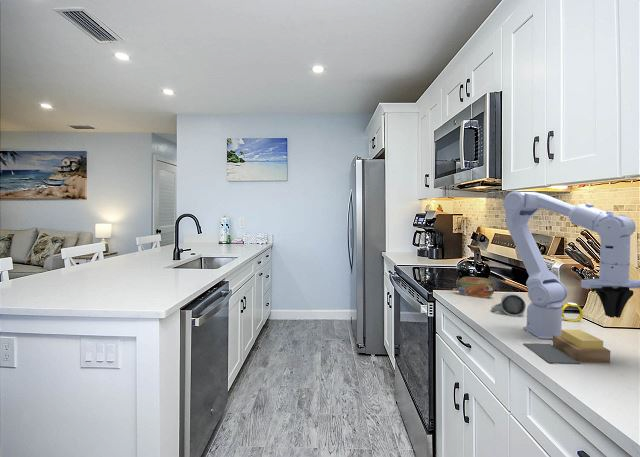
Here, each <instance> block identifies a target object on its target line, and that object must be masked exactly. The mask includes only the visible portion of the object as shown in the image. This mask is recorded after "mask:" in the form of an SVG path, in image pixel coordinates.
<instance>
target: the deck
mask: <svg viewBox="0 0 640 457" xmlns="http://www.w3.org/2000/svg"><path fill="white" fill-rule="evenodd" d="M552 345H553V346H554V347H556V348H558V349H559V350H561V351H562V352H564V353H565V354H567V355H569V356H570V357H572V358H573V359H575V360H576V361H578V362H580V363H591V364H592V363H593V364H594V363H597V364H598V363H600V364H603V363H606V364H611V353H612V352H611V350H610V349H608V348H606V347H604V346H603V349H581V348H580V347H578V346H576V345H574V344H573V343H571V342H569V341H567V340H566V339H564V338H562V337H561V336H560V335H553V339H552Z"/></svg>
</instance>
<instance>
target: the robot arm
mask: <svg viewBox="0 0 640 457" xmlns="http://www.w3.org/2000/svg"><path fill="white" fill-rule="evenodd" d="M502 206H503V208H504V211H505V226H506V227H507V229H508V232H509V234H510V236H511V237H510V238H512V241H513V243H514V245H515V247H516V250H517V252H518V254H519V256H520V258H521V261H522V263H523V265H524V267H525V269H526V273H527V274H528V278H527V280H526V282H525V284H526V287H527V295H528V298H529V300H530V301H531V302H530V303H529V304H528V305H527V308H526V326H523V329H525V330H526V331H527V332H528V333H531V334H533V335H534V336H535V337H537V338H538V339H540V340H541V339H542V340H553V335H560V336H561V330H562V326H563V325H562V320H563V317H562V307H563V302H564V301H565V300H566V299H567V298H568V290H567V287H566V286H565V285H564V284H563V283H562V282H561V281H560V280H559V277H558V276H557V275H556V274H554V273H553V272H552V271H550V270H549V267H548V265H547V263H546V261H545V259H544V258H543V255H542V253H541V250H540V249H539V247H538V243H537V242H536V240H535V238H534V236H533V234H532V232H531V229H530V228H529V226H528V222H529V220H530V219H531V217H533V216H534V215H535V213H536V212H537V211H538V210H539V209H545V210H548V211H551V212H553V213H557V214H559V215H562V216H566V217H568V219H569V221H570V222H571V223H572V224H574V225H576V226H579V227H581V228H584V229H587V230H589V231H591V232H594V233H597V234H596V235H598V236H599V237H600V238H599V239H600V246H599V249H600V252H599V275H598V276H599V278H594V279H593V278H592V279H591V278H589V279H581V281H580V283H581V284H580V287H581V288H582V289H586V290H589V289H594V291H595V293H596V294H597V296H598V297H599V300H600V302H601V304H602V307H603V310H604V315H605V316H606V317H609V318H617V319H620V318H621V315H622V313H623V312H624V308H625V306H626V305H627V303H628V302H629V300H630V299H631V298H632V297H633V296H634V290H633V289H640V279H630V263H631V261H630V260H631V236H632V235H633V234H634V232H635V231H636V223H635V221H634V220H633V219H632V218H630V217H628V216H626V215H624V214H619V215H618V214H617V215H614V211H612V210H607V211H605V210H603V209H599V208H597V207H594V206H595V205H594V204H592V203H585V204H584V203H579V204H578V205H573V204H571V203H568V202H566V201H563V200H560V199H558V198H555V197H553V196H550V195H548V194H545V193H540V192H537V191H518V190H514V191H513V190H512V191H510V192H509V193H507V195H506V197H505V199H504V201H503V202H502Z"/></svg>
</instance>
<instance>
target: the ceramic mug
mask: <svg viewBox="0 0 640 457" xmlns="http://www.w3.org/2000/svg"><path fill="white" fill-rule="evenodd" d="M526 306H527V305H526V301H525V300H524V298H523V297H522V295H521V294H519V293H517V292H515V291H509V292H506V293H505V294H503V296H502V297H501V300H500V302H499V303H496V304H494V305H492V306H491V311H492V312H495V313H496V312H501V311H503V312H504V314H506V315H508V316H510V317H511V316H512V317H518V316H521V315H522V314H523V313H525V311H526V309H527V308H526Z"/></svg>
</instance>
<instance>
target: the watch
mask: <svg viewBox="0 0 640 457" xmlns="http://www.w3.org/2000/svg"><path fill="white" fill-rule="evenodd" d="M567 307H574V308H575V307H576V308H577V309H578V311H579V315H578V317H577V318H576V319H573V318H572V319H570V318H566V317H565V314H564V312H565V309H566V308H567ZM583 317H584V311H583V309H582V308H581V307H580V306H579V305H578V304H577V303H575V302H566V304H563V305H562V319H564V320H565V321H567V322H576V321H578V322H579V321H581V319H582V318H583Z"/></svg>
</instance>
